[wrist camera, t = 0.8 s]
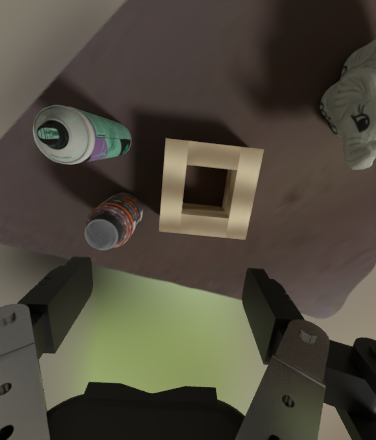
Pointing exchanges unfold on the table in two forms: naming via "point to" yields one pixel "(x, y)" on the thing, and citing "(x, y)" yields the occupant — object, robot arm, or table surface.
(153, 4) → the table surface
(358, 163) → the grey animal cookie jar
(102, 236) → the supplement bottle
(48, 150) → the spray can
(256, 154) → the tube block
